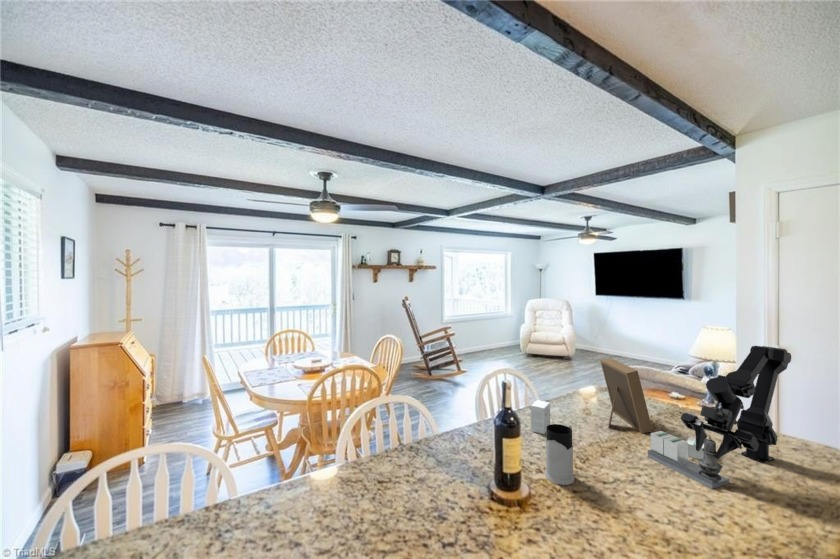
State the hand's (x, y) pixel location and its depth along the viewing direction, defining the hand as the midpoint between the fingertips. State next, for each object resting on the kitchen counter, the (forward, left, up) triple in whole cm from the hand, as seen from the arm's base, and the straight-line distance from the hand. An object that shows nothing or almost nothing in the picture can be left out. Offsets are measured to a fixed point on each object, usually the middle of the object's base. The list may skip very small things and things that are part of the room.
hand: (706, 454), depth 111 cm
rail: (-1, -7, -8) cm, 10 cm away
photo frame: (-13, -42, -8) cm, 44 cm away
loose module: (-14, -12, -8) cm, 20 cm away
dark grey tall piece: (-2, 0, -7) cm, 7 cm away
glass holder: (+37, -20, -8) cm, 43 cm away
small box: (+22, -49, -8) cm, 54 cm away
